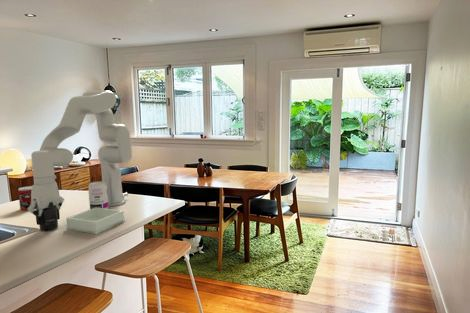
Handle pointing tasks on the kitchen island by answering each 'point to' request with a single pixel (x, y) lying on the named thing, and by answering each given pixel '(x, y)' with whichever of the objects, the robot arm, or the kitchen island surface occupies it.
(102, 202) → the supplement can
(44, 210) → the supplement bottle
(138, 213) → the kitchen island surface
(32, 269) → the kitchen island surface
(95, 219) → the bin
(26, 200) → the canned food
